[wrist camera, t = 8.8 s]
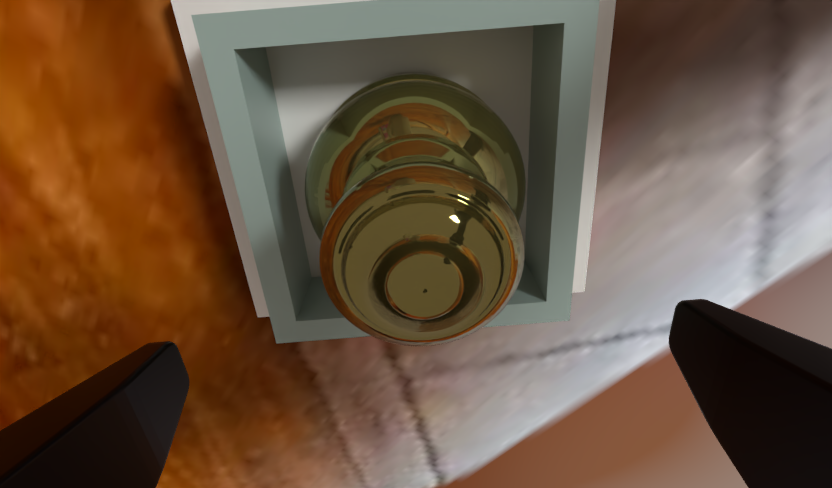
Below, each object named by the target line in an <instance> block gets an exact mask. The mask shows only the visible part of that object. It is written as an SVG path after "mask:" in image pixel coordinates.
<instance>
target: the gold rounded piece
mask: <svg viewBox="0 0 832 488" xmlns="http://www.w3.org/2000/svg"><path fill="white" fill-rule="evenodd" d="M525 192H526V178H525V169H524V163H523V159H522V156H521V152H520V150H519V147H518V145H517V142H516V140H515V138H514V136H513V135H512V133H511V131H510V130H509V128H508V127H507V125H506V124H505V123H504V122H503V120H502V119H501V118H500V117H499V116H498V115H497V114H496V113H495V112H494V111H493V110H492V109H491V108H490V107H489V106H488V105H487V104H486V103H485V102H484V101H483V100H481V99H480V98H479V97H478V96H477V95H475V94H474V93H473V92H471V91H470V90H468V89H467V88H465V87H463V86H461V85H459V84H458V83H456V82H454V81H452V80H450V79H448V78H445V77H442V76H439V75H435V74H431V73H425V72H401V73H395V74H391V75H387V76H384V77H381V78H379V79H376V80H374V81H372V82H370V83H368V84H366V85H365V86H363V87H362V88H360V89H359V90H358V91H356V92H355V93H354V94H353V95H352V96H351V97H349V98H348V99H347V100H346V101H345V102H344V103H343V104H342V105H341V106H340V107H339V108H338V109H337V110H336V112H335V113H334V114H333V116H332V117H331V118H330V120H329V121H328V123H327V124H326V125H325V127H324V128H323V130H322V131H321V132H320V134H319V136H318V138H317V139H316V141H315V143H314V146H313V148H312V150H311V153H310V156H309V159H308V163H307V167H306V173H305V201H306V207H307V211H308V215H309V218H310V221H311V224H312V227H313V229H314V231H315V233H316V235H317V237H318V238H319V240H320V255H319V262H320V272H321V277H322V281H323V284H324V287H325V289H326V292H327V294H328V296H329V298H330V299H331V301H332V302H333V304H334V305H335V307H336V308H337V309H338V311H339V312H340V313H341V314H342V315H343V316H344V317H345V318H346V319H347V320H348V321H349V322H350V323H352V324H353V325H354V326H355V327H357V328H359V329H360V330H362V331H363V332H365V333H367V334H369V335H371V336H373V337H375V338H378V339H380V340H383V341H386V342H390V343H394V344H399V345H405V346H433V345H440V344H445V343H449V342H452V341H456V340H459V339H461V338H464V337H466V336H468V335H470V334H472V333H474V332H476V331H478V330H479V329H481V328H482V327H484V326H485V325H487V324H488V323H489V322H491V321H492V320H493V319H494V318H495V317H496V316H497V315H498V314H499V313H500V312H501V311H502V310H503V309H504V308H505V306H506V305H507V304H508V303H509V301H510V299H511V298H512V296H513V295H514V293H515V291H516V289H517V287H518V284H519V282H520V279H521V275H522V271H523V266H524V242H523V237H522V232H521V229H520V225H519V220H520V217H521V214H522V210H523V206H524V201H525Z"/></svg>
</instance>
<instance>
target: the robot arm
mask: <svg viewBox="0 0 832 488" xmlns="http://www.w3.org/2000/svg"><path fill="white" fill-rule="evenodd" d="M669 346H670V350H671V352H672V354H673V356H674V358H675V360H676V362H677V364H678V366H679V368H680V370H681V372H682V374H683V376H684V378H685V380H686V382H687V383H688V386H689V388H690V390H691V392H692V394H693V395H694V398H695V400H696V401H697V403H698V405H699V407H700V409H701V411H702V413H703V415H704V417H705V419H706V421H707V422H708V424H709V426H710V428H711V429H712V431H713V433H714V434H715V436H716V438H717V439H718V441H719V443H720V444H721V446H722V447H723V449H724V450H725V452H726V453H727V455H728V456H729V458H730V459H731V461H732V463H733V464H734V466H735V467H736V469H737V470H738V472H739V474H740V475H741V476H742V478H743V480H744V481H745V483H746V485H747V486H748V487H749V488H832V349H831V348H828V347H826V346H823V345H821V344H818V343H816V342H813V341H810V340H808V339H805V338H802V337H800V336H797V335H795V334H793V333H790V332H787V331H785V330H782V329H780V328H777V327H775V326H772V325H769V324H766V323H764V322H762V321H759V320H757V319H754V318H751V317H749V316H746V315H744V314H741V313H739V312H736V311H733V310H731V309H728V308H726V307H723V306H721V305H718V304H716V303H713V302H710V301H708V300H705V299H696V300H684V301H681V302H679V303H678V304H677V306H676V308H675V312H674V316H673V321H672V326H671V330H670V335H669ZM188 389H189V377H188V373H187V371H186V368H185V366H184V363H183V360H182V358H181V355H180V352H179V350H178V348H177V346H176V345H175V343H173V342H170V341H166V342H154V343H148V344H146V345H144V346H142V347H141V348H139V349H137V350H136V351H134V352H132V353H131V354H129V355H127V356H126V357H124V358H122V359H120V360H119V361H117V362H115V363H114V364H112V365H110V366H109V367H107V368H105V369H104V370H102V371H100V372H99V373H97V374H95V375H94V376H92V377H90V378H88V379H87V380H85V381H83V382H82V383H80V384H78V385H77V386H75V387H73V388H72V389H70V390H68V391H67V392H65V393H63V394H62V395H60V396H58V397H56V398H55V399H53V400H51V401H50V402H48V403H46V404H45V405H43V406H41V407H40V408H38V409H36V410H35V411H33V412H31V413H30V414H28V415H26V416H24V417H23V418H21V419H19V420H18V421H16V422H14V423H13V424H11V425H9V426H8V427H6V428H4V429H3V430H1V431H0V488H156V486H157V483H158V481H159V478H160V476H161V473H162V471H163V468H164V465H165V462H166V459H167V456H168V453H169V450H170V447H171V444H172V441H173V437H174V434H175V431H176V428H177V425H178V422H179V418H180V415H181V412H182V409H183V406H184V402H185V399H186V396H187V393H188Z"/></svg>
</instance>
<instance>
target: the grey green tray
mask: <svg viewBox="0 0 832 488" xmlns="http://www.w3.org/2000/svg"><path fill="white" fill-rule="evenodd" d="M171 3H172V7H173V11H174V14H175V18H176V22H177V25H178V29H179V32H180V36H181V40H182V43H183V47H184V51H185V54H186V58H187V62H188V65H189V69H190V73H191V76H192V80H193V84H194V87H195V91H196V94H197V98H198V102H199V105H200V109H201V113H202V116H203V120H204V124H205V127H206V131H207V135H208V138H209V142H210V146H211V149H212V153H213V157H214V160H215V164H216V167H217V171H218V175H219V178H220V182H221V186H222V189H223V193H224V197H225V200H226V204H227V208H228V211H229V215H230V219H231V222H232V226H233V229H234V233H235V237H236V240H237V244H238V248H239V251H240V255H241V259H242V262H243V266H244V270H245V273H246V277H247V281H248V284H249V288H250V291H251V295H252V299H253V302H254V306H255V310H256V313H257V317H270V320H271V324H272V328H273V332H274V336H275V340H276V343H289V342H302V341H314V340H327V339H340V338H353V337H365V336H371V335H369V334H367V333H365V332H363V331H362V330H360V329H359V328H357V327H355V326H354V325H353V324H352V323H350V322H349V321H348V320H347V319H346V318H345V317H344V316H343V315H342V314H341V313H340V312H339V311H338V309H337V308H336V307H335V305H334V304H333V302H332V301H331V299H330V298H329V296H328V294H327V292H326V289H325V287H324V284H323V281H322V277H321V272H320V262H319V255H320V240H319V238H318V237H317V235H316V233H315V231H314V229H313V227H312V224H311V221H310V218H309V215H308V211H307V207H306V201H305V173H306V167H307V163H308V159H309V156H310V153H311V150H312V148H313V146H314V143H315V141H316V139H317V138H318V136H319V134H320V132H321V131H322V130H323V128H324V127H325V125H326V124H327V123H328V121H329V120H330V118H331V117H332V116H333V114H334V113H335V112H336V110H337V109H338V108H339V107H340V106H341V105H342V104H343V103H344V102H345V101H346V100H347V99H348V98H349V97H351V96H352V95H353V94H354V93H355V92H356V91H358V90H359V89H360V88H362V87H363V86H365V85H366V84H368V83H370V82H372V81H374V80H376V79H379V78H381V77H384V76H387V75H391V74H395V73H401V72H425V73H431V74H435V75H439V76H442V77H445V78H448V79H450V80H452V81H454V82H456V83H458V84H459V85H461V86H463V87H465V88H467V89H468V90H470V91H471V92H473V93H474V94H475V95H477V96H478V97H479V98H480V99H481V100H483V101H484V102H485V103H486V104H487V105H488V106H489V107H490V108H491V109H492V110H493V111H494V112H495V113H496V114H497V115H498V116H499V117H500V118H501V119H502V120H503V122H504V123H505V124H506V125H507V127H508V128H509V130H510V131H511V133H512V135H513V136H514V138H515V140H516V142H517V145H518V147H519V150H520V152H521V156H522V159H523V163H524V169H525V178H526V192H525V201H524V206H523V210H522V214H521V217H520V220H519V225H520V229H521V232H522V237H523V242H524V266H523V271H522V275H521V279H520V282H519V284H518V287H517V289H516V291H515V293H514V295H513V296H512V298H511V299H510V301H509V303H508V304H507V305H506V306H505V308H504V309H503V310H502V311H501V312H500V313H499V314H498V315H497V316H496V317H495V318H494V319H493V320H492V321H491V322H489V323H488V324H487V325H485V326H484V327H493V326H506V325H518V324H531V323H544V322H557V321H569V320H570V310H571V299H572V293H575V292H585V283H586V274H587V265H588V256H589V246H590V237H591V228H592V219H593V209H594V200H595V191H596V182H597V172H598V163H599V154H600V145H601V135H602V126H603V117H604V108H605V98H606V89H607V80H608V71H609V61H610V52H611V43H612V34H613V25H614V15H615V6H616V0H171Z"/></svg>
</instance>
